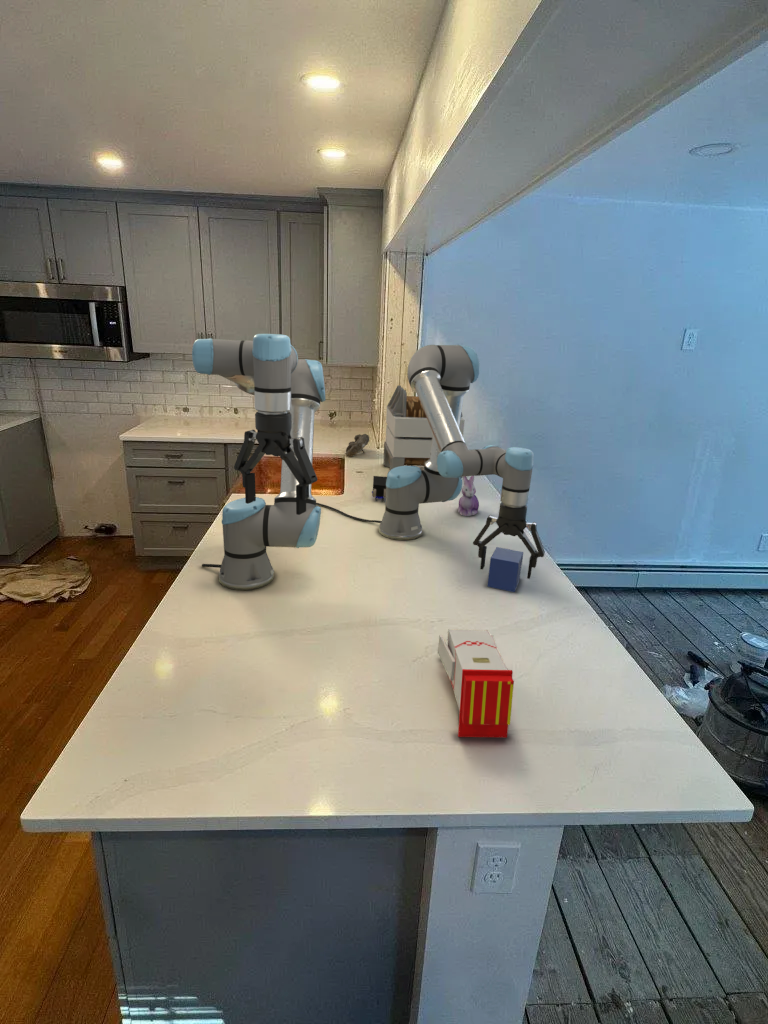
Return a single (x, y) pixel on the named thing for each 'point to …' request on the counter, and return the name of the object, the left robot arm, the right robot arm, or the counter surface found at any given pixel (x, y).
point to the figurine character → (379, 487)
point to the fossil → (357, 445)
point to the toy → (478, 682)
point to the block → (505, 569)
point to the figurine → (468, 498)
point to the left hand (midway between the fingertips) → (275, 507)
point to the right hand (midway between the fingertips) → (505, 572)
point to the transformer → (407, 431)
